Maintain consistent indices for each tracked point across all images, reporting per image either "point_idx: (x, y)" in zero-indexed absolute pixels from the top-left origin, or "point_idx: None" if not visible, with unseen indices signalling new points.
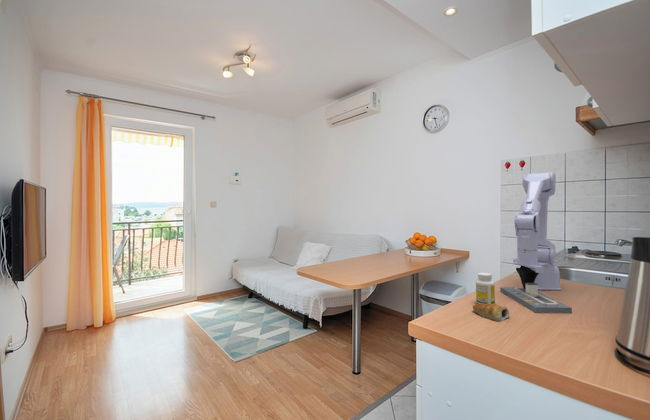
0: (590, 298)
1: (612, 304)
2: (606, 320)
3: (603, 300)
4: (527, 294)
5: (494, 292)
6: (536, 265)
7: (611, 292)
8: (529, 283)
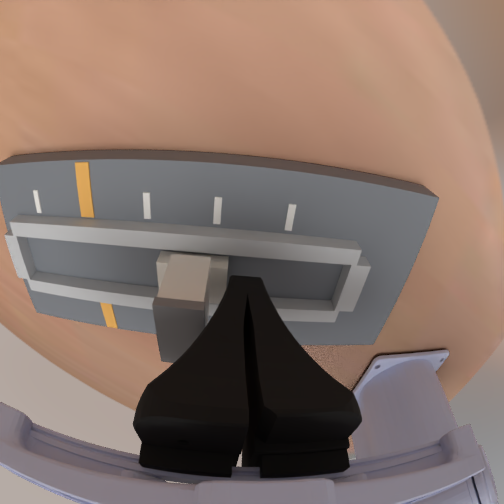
0: None
1: None
2: (22, 333)
3: None
4: (173, 243)
5: None
6: (56, 492)
7: None
8: (171, 323)
